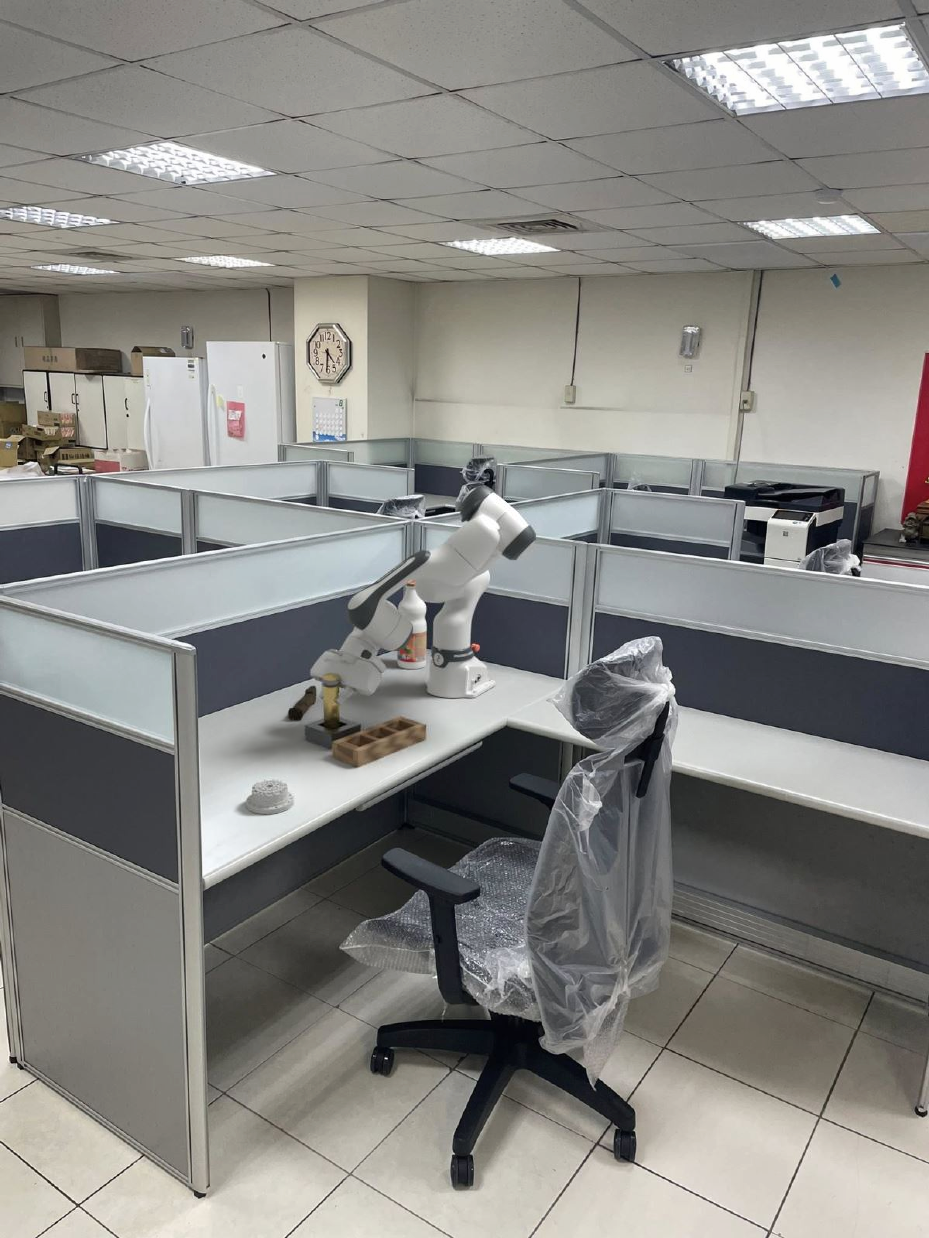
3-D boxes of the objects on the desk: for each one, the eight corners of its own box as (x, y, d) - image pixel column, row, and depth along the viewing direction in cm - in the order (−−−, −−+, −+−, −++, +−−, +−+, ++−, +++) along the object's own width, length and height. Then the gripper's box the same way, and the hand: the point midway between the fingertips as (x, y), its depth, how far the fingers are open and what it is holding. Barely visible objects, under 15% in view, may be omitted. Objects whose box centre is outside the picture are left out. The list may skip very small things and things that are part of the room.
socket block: (334, 729, 233) (334, 714, 232) (360, 738, 227) (360, 724, 226) (305, 739, 226) (304, 724, 225) (331, 749, 220) (331, 734, 219)
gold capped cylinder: (332, 726, 230) (331, 671, 226) (344, 731, 227) (344, 675, 223) (318, 731, 226) (318, 675, 222) (331, 736, 223) (330, 679, 220)
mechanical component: (301, 798, 194) (261, 792, 196) (301, 779, 193) (260, 773, 195) (280, 818, 184) (237, 811, 187) (279, 799, 183) (236, 792, 186)
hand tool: (301, 722, 239) (301, 705, 238) (287, 720, 239) (287, 704, 238) (324, 699, 257) (324, 684, 256) (311, 698, 258) (311, 683, 256)
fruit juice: (427, 669, 287) (429, 584, 280) (398, 670, 285) (399, 584, 278) (424, 660, 296) (425, 578, 289) (396, 661, 294) (396, 578, 287)
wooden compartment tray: (400, 730, 233) (400, 716, 232) (426, 739, 228) (426, 724, 227) (332, 757, 215) (332, 741, 214) (358, 767, 210) (358, 751, 209)
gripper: (321, 641, 233) (294, 685, 228) (379, 656, 221) (352, 703, 216) (333, 653, 237) (307, 697, 232) (391, 669, 226) (365, 716, 220)
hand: (329, 700), depth 224 cm, fingers closed on gold capped cylinder, 4 cm apart
